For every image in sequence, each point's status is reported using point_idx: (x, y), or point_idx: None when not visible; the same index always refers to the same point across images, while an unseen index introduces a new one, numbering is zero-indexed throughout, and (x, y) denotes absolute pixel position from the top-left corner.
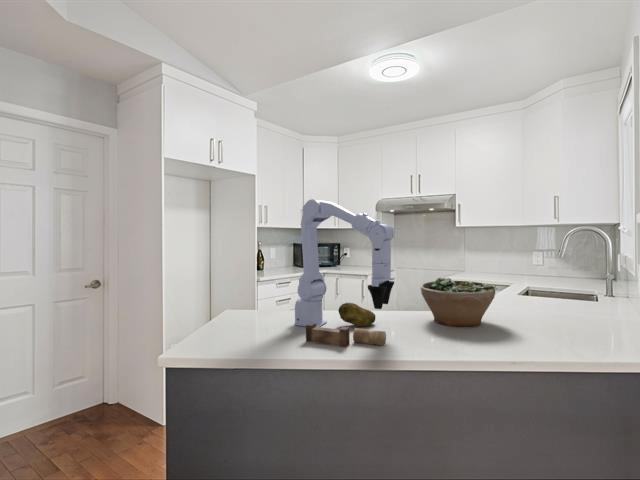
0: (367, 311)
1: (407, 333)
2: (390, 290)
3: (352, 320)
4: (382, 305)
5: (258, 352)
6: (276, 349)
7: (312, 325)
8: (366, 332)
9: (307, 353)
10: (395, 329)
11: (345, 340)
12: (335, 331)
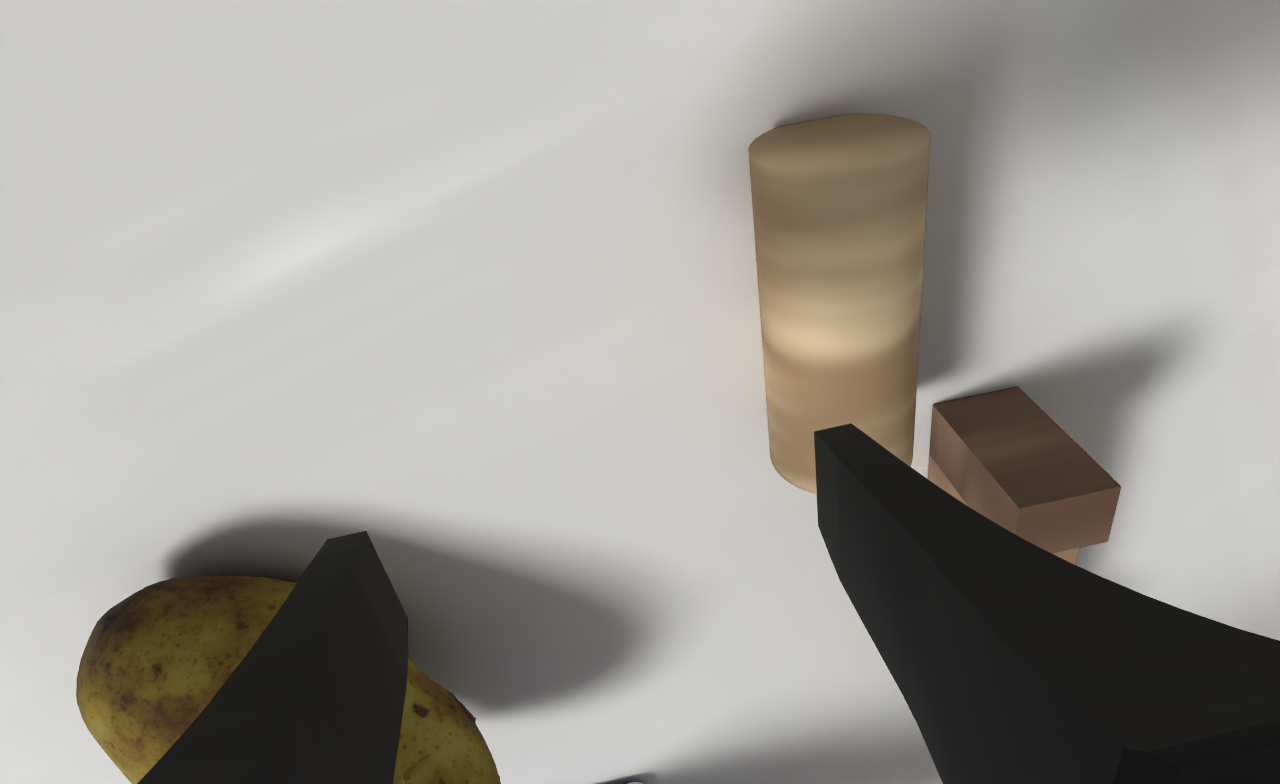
0: None
1: (158, 71)
2: (230, 776)
3: (447, 695)
4: (837, 456)
5: None
6: None
7: None
8: (910, 351)
9: (1231, 506)
10: (123, 294)
11: (1052, 424)
12: (1062, 557)
